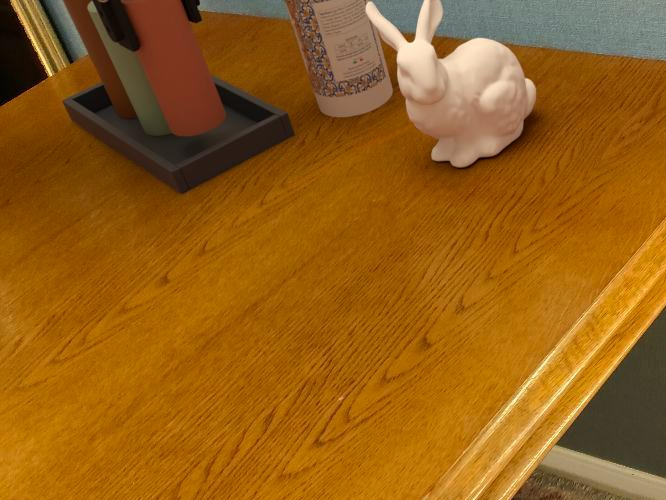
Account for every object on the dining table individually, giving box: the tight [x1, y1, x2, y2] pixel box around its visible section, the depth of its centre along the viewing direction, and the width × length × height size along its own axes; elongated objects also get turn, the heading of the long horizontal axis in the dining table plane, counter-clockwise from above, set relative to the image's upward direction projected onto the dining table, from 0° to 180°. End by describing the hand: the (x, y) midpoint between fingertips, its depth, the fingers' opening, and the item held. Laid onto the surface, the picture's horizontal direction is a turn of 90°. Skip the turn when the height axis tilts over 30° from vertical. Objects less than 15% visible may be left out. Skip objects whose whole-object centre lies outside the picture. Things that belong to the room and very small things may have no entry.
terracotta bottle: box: [121, 0, 226, 136], centre depth 83 cm, size 5×5×13 cm
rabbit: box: [365, 0, 537, 168], centre depth 80 cm, size 12×9×12 cm
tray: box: [61, 74, 296, 195], centre depth 92 cm, size 12×24×3 cm, turn 42°
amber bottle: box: [62, 0, 138, 119], centre depth 92 cm, size 5×5×13 cm
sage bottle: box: [87, 1, 172, 136], centre depth 89 cm, size 5×5×13 cm
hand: (159, 30), depth 82 cm, fingers closed on terracotta bottle, 5 cm apart
